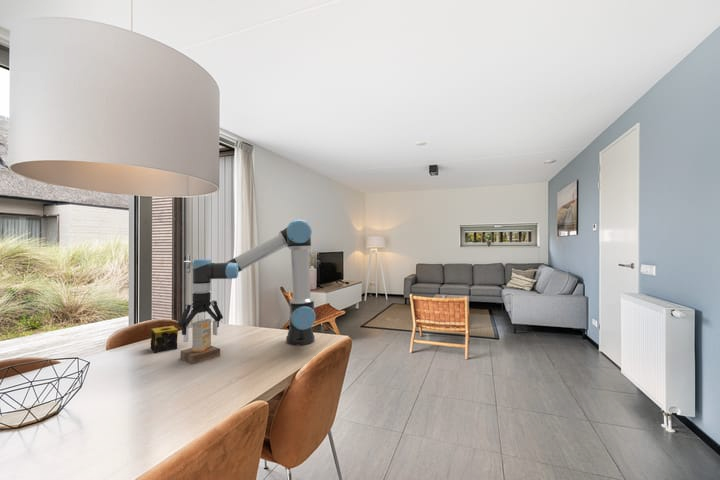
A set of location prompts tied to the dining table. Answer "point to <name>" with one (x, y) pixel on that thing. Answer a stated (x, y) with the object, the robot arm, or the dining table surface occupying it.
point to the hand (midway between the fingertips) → (200, 338)
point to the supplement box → (201, 335)
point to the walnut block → (200, 355)
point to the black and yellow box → (164, 339)
